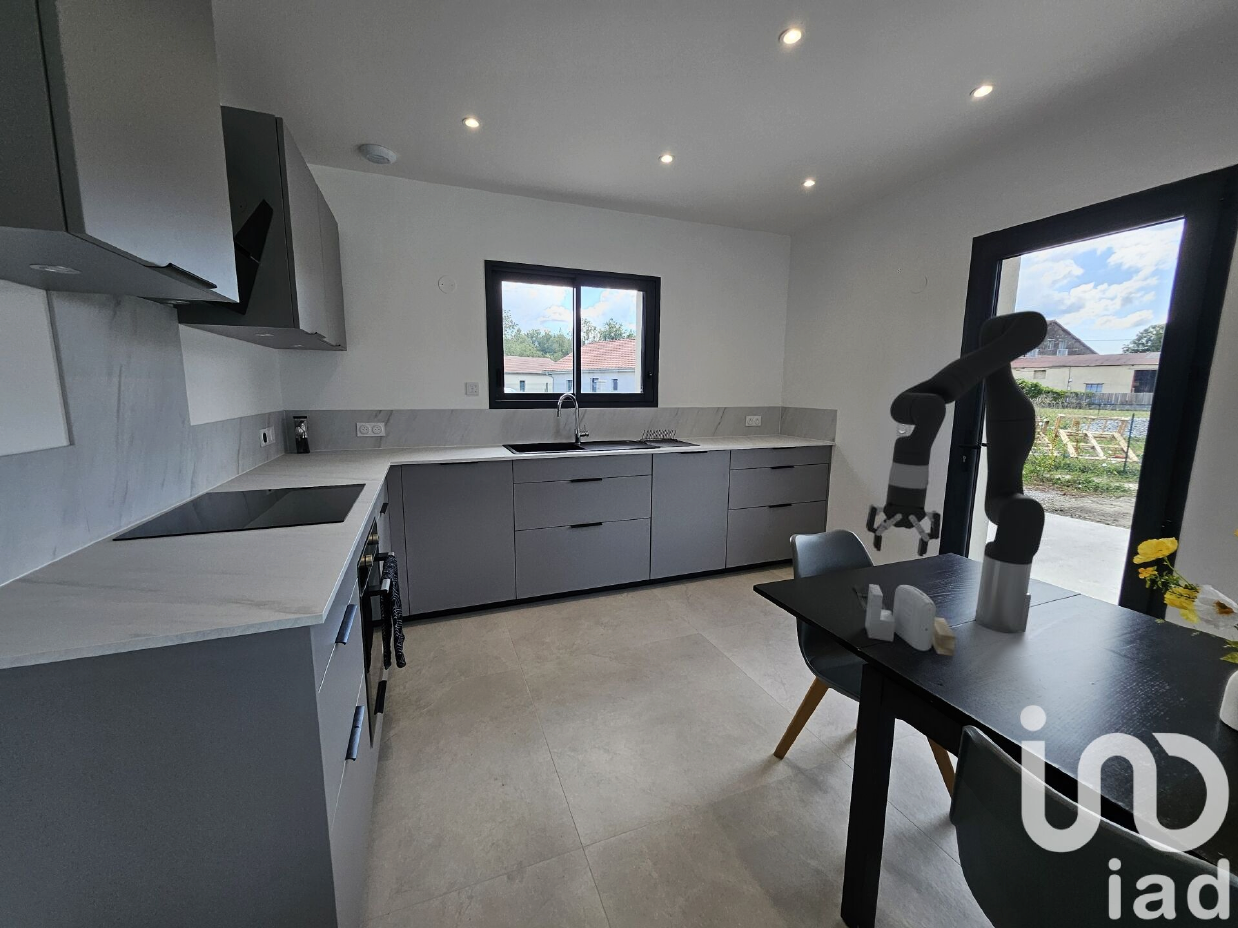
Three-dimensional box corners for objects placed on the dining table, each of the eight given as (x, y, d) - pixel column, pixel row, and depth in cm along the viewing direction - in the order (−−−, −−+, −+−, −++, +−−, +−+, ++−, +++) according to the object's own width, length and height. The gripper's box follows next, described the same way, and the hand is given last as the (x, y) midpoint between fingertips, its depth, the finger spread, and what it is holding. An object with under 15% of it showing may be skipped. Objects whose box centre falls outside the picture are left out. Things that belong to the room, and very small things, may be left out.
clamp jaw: (888, 629, 116) (892, 587, 115) (892, 641, 111) (897, 597, 109) (865, 625, 118) (869, 583, 116) (868, 637, 113) (873, 593, 111)
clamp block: (941, 636, 114) (943, 618, 113) (953, 655, 106) (955, 636, 105) (926, 633, 115) (929, 616, 114) (937, 653, 107) (939, 634, 106)
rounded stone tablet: (934, 651, 108) (940, 598, 106) (916, 651, 107) (921, 599, 105) (905, 628, 118) (910, 580, 116) (888, 628, 118) (893, 580, 116)
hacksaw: (852, 588, 142) (852, 583, 142) (891, 592, 139) (891, 587, 139) (870, 627, 119) (870, 621, 119) (917, 633, 116) (918, 627, 116)
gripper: (939, 483, 109) (930, 552, 111) (869, 477, 113) (861, 543, 116) (950, 489, 102) (939, 563, 104) (874, 483, 106) (866, 553, 109)
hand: (898, 552), depth 110 cm, fingers open, 8 cm apart
